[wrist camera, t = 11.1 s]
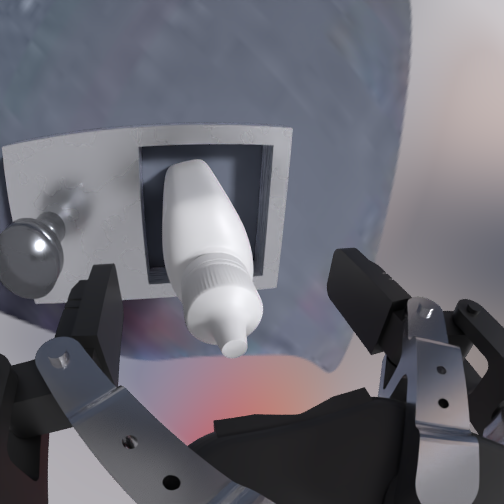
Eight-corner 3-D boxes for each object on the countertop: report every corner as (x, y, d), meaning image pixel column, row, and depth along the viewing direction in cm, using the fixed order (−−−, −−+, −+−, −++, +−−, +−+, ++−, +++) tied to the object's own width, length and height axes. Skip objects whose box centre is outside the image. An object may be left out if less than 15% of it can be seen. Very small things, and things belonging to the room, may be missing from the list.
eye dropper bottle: (147, 238, 18) (139, 402, 8) (172, 149, 16) (180, 236, 6) (213, 253, 20) (266, 409, 10) (243, 171, 18) (347, 275, 8)
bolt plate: (17, 141, 13) (-39, 164, 8) (280, 125, 17) (330, 138, 12) (44, 287, 18) (16, 347, 13) (267, 272, 22) (300, 329, 17)
